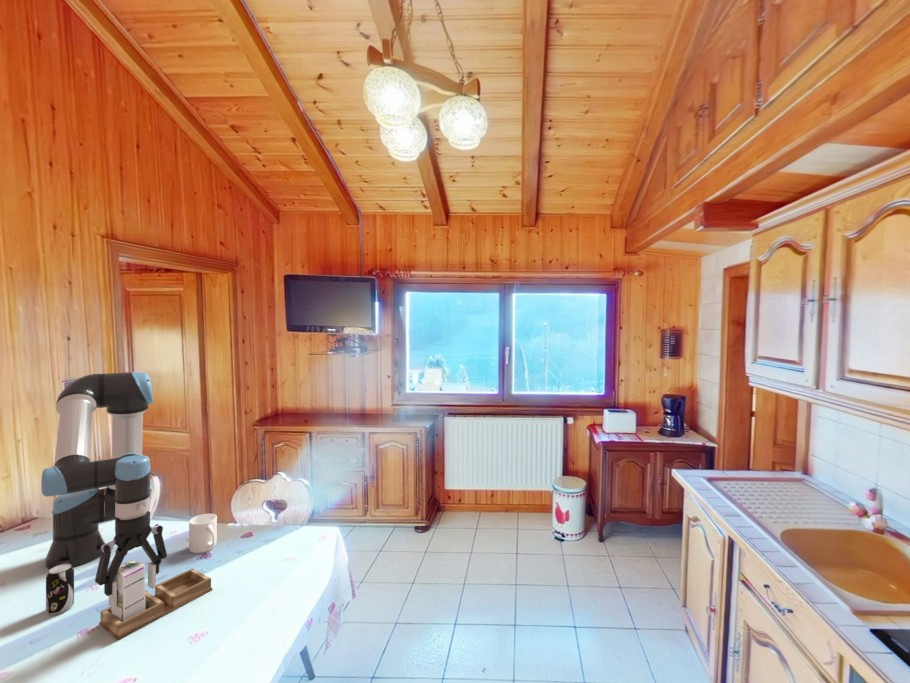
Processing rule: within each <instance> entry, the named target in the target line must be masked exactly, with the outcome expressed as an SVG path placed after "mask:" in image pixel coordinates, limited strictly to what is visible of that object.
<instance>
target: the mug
mask: <svg viewBox="0 0 910 683" xmlns="http://www.w3.org/2000/svg"><path fill="white" fill-rule="evenodd" d="M217 518H218V516H217V514H216V513H204V514H203V513H202V514H199V515H195V516H193V517H192V518H191V519H190V520H188V521H189V522H188V523H189V524H188V531H189V532H188V548H189V552H191V553H192V554H203V553H207V552H209V551H211V550H213V549H214V548H215V547H216V545H217V542H218V540H217V539H218V537H217V536H218V535H217V534H218V533H217V532H218V531H217V530H218V529H217V528H218V525H217V524H218V523H217V522H218V519H217Z"/></svg>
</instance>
